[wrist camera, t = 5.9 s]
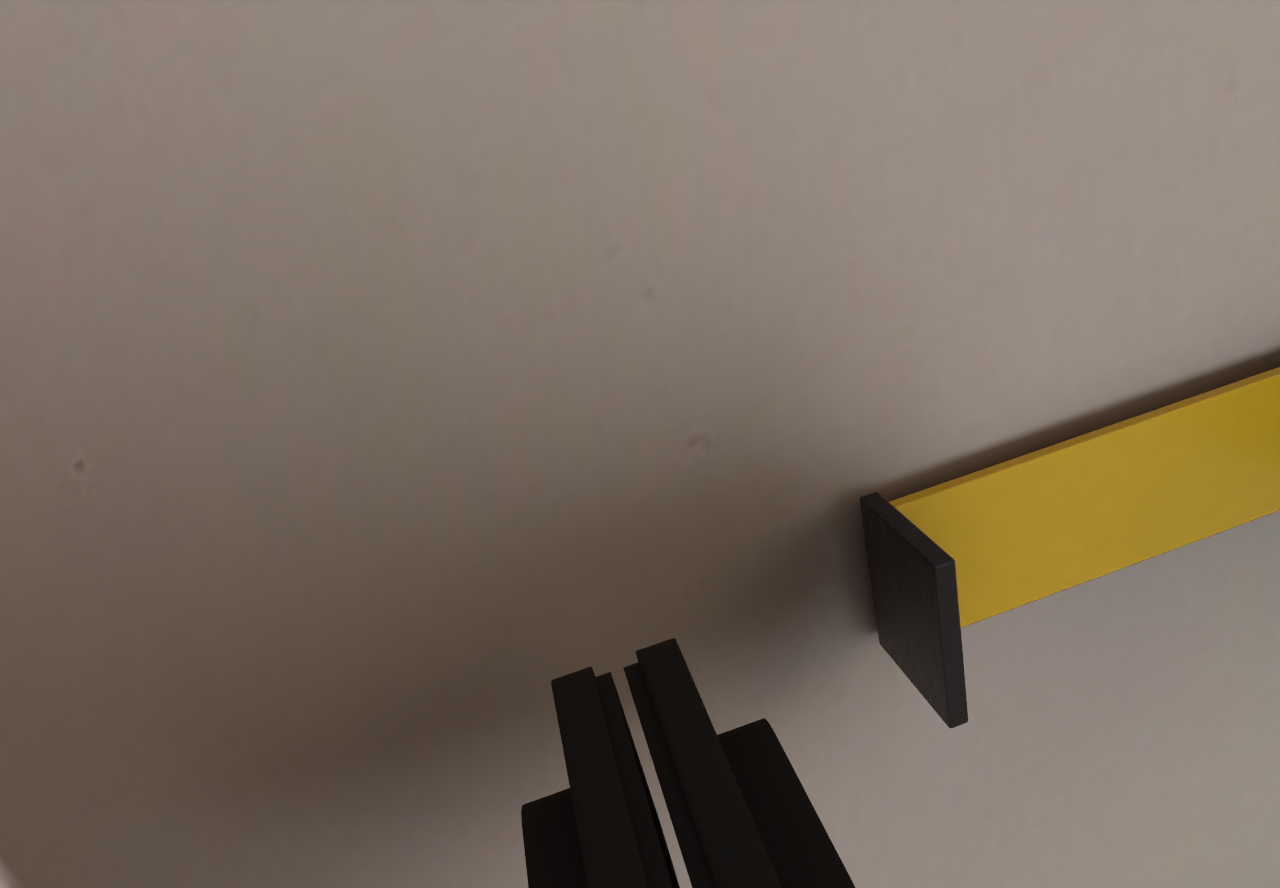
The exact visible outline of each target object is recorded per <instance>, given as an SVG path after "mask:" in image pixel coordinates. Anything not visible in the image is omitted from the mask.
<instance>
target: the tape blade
mask: <svg viewBox="0 0 1280 888" xmlns="http://www.w3.org/2000/svg"><path fill="white" fill-rule="evenodd" d="M860 504H861V511H862V519H863V526H864V533H865V540H866V547H867V555H868V562H869V569H870V576H871V584H872V591H873V598H874V605H875V613H876V620H877V627H878V634H879V642H880V645H881V646H882V647H883V648H884V649H885V651H886V652H887V653H888V654H889V655H890V657H891V658H892V659H893V660H894V661H895V663H896V664H897V665H898V666H899V668H900V669H901V670H902V671H903V672H904V674H905V675H906V676H907V677H908V678H909V680H910V681H911V682H912V683H913V684H914V686H915V687H916V688H917V689H918V691H919V692H920V693H921V694H922V695H923V697H924V698H925V699H926V700H927V701H928V703H929V704H930V705H931V706H932V707H933V709H934V710H935V711H936V712H937V714H938V715H939V716H940V717H941V718H942V720H943V721H944V722H945V723H946V724H947V726H948V727H949V728H954V727H956V726H959V725H962V724H964V723H967V722H968V714H967V701H966V689H965V677H964V665H963V652H962V640H961V628H962V627H965V626H967V625H970V624H973V623H975V622H978V621H981V620H984V619H986V618H989V617H992V616H994V615H997V614H1000V613H1003V612H1005V611H1008V610H1011V609H1013V608H1016V607H1019V606H1022V605H1024V604H1027V603H1030V602H1032V601H1035V600H1038V599H1041V598H1043V597H1046V596H1049V595H1051V594H1054V593H1057V592H1060V591H1062V590H1065V589H1068V588H1070V587H1073V586H1076V585H1079V584H1081V583H1084V582H1087V581H1089V580H1092V579H1095V578H1098V577H1100V576H1103V575H1106V574H1108V573H1111V572H1114V571H1117V570H1119V569H1122V568H1125V567H1127V566H1130V565H1133V564H1135V563H1138V562H1141V561H1144V560H1146V559H1149V558H1152V557H1154V556H1157V555H1160V554H1163V553H1165V552H1168V551H1171V550H1173V549H1176V548H1179V547H1182V546H1184V545H1187V544H1190V543H1192V542H1195V541H1198V540H1201V539H1203V538H1206V537H1209V536H1211V535H1214V534H1217V533H1220V532H1222V531H1225V530H1228V529H1230V528H1233V527H1236V526H1239V525H1241V524H1244V523H1247V522H1249V521H1252V520H1255V519H1258V518H1260V517H1263V516H1266V515H1268V514H1271V513H1274V512H1277V511H1279V510H1280V367H1277V368H1275V369H1272V370H1269V371H1266V372H1263V373H1260V374H1257V375H1254V376H1251V377H1249V378H1246V379H1243V380H1240V381H1237V382H1234V383H1231V384H1228V385H1225V386H1222V387H1220V388H1217V389H1214V390H1211V391H1208V392H1205V393H1202V394H1199V395H1196V396H1194V397H1191V398H1188V399H1185V400H1182V401H1179V402H1176V403H1173V404H1170V405H1167V406H1165V407H1162V408H1159V409H1156V410H1153V411H1150V412H1147V413H1144V414H1141V415H1139V416H1136V417H1133V418H1130V419H1127V420H1124V421H1121V422H1118V423H1115V424H1112V425H1110V426H1107V427H1104V428H1101V429H1098V430H1095V431H1092V432H1089V433H1086V434H1084V435H1081V436H1078V437H1075V438H1072V439H1069V440H1066V441H1063V442H1060V443H1057V444H1055V445H1052V446H1049V447H1046V448H1043V449H1040V450H1037V451H1034V452H1031V453H1029V454H1026V455H1023V456H1020V457H1017V458H1014V459H1011V460H1008V461H1005V462H1002V463H1000V464H997V465H994V466H991V467H988V468H985V469H982V470H979V471H976V472H974V473H971V474H968V475H965V476H962V477H959V478H956V479H953V480H950V481H947V482H945V483H942V484H939V485H936V486H933V487H930V488H927V489H924V490H921V491H918V492H916V493H913V494H910V495H907V496H904V497H901V498H898V499H895V500H892V501H890V502H888V501H887V500H886V499H885V498H883V497H882V496H881V495H880V494H879V493H877V492H875V493H872V494H869V495H866V496H863V497H861V498H860Z"/></svg>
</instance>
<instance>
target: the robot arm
mask: <svg viewBox="0 0 1280 888" xmlns="http://www.w3.org/2000/svg"><path fill="white" fill-rule="evenodd" d="M636 655H637V659H638V663H635V664H632V665H629V666H626V667H624V671H625V674H626V678H627V681H628V684H629V687H630V690H631V693H632V697H633V700H634V703H635V706H636V709H637V713H638V716H639V719H640V722H641V725H642V728H643V732H644V735H645V738H646V741H647V744H648V748H649V751H650V754H651V757H652V760H653V763H654V767H655V770H656V773H657V776H658V779H659V783H660V786H661V789H662V792H663V795H664V798H665V802H666V805H667V808H668V811H669V814H670V818H671V821H672V824H673V827H674V830H675V833H676V837H677V840H678V843H679V846H680V849H681V852H682V856H683V859H684V862H685V865H686V868H687V872H688V875H689V878H690V881H691V884H692V887H693V888H855V886H854V884H853V882H852V880H851V878H850V876H849V874H848V873H847V871H846V869H845V867H844V865H843V863H842V861H841V859H840V857H839V855H838V853H837V851H836V850H835V848H834V846H833V844H832V842H831V840H830V838H829V836H828V834H827V832H826V830H825V828H824V827H823V825H822V823H821V821H820V819H819V817H818V815H817V813H816V811H815V809H814V807H813V805H812V804H811V802H810V800H809V798H808V796H807V794H806V792H805V790H804V788H803V786H802V784H801V782H800V781H799V779H798V777H797V775H796V773H795V771H794V769H793V767H792V765H791V763H790V761H789V759H788V758H787V756H786V754H785V752H784V750H783V748H782V746H781V744H780V742H779V740H778V738H777V736H776V735H775V733H774V731H773V729H772V727H771V726H770V724H769V722H768V721H767V720H766V719H765V718H764V719H761V720H758V721H755V722H752V723H750V724H747V725H744V726H741V727H738V728H736V729H733V730H730V731H727V732H725V733H722V734H719V735H717V734H716V732H715V730H714V727H713V725H712V723H711V720H710V718H709V716H708V713H707V711H706V709H705V706H704V704H703V702H702V699H701V697H700V695H699V692H698V690H697V688H696V685H695V683H694V681H693V678H692V676H691V674H690V671H689V669H688V667H687V664H686V662H685V660H684V657H683V655H682V653H681V650H680V648H679V646H678V644H677V641H676V639H675V638H672V639H670V640H667V641H664V642H661V643H658V644H655V645H652V646H649V647H646V648H643V649H641V650H638V651H636ZM551 684H552V690H553V696H554V701H555V707H556V712H557V718H558V723H559V729H560V734H561V740H562V745H563V751H564V756H565V762H566V767H567V773H568V778H569V784H570V788H569V789H566V790H563V791H560V792H557V793H555V794H552V795H549V796H546V797H544V798H541V799H538V800H535V801H532V802H530V803H527V804H524V805H522V810H521V816H522V829H523V838H524V848H525V857H526V867H527V876H528V886H529V888H680V887H679V884H678V881H677V877H676V874H675V871H674V867H673V864H672V861H671V857H670V854H669V850H668V847H667V844H666V840H665V837H664V834H663V831H662V827H661V824H660V821H659V818H658V815H657V812H656V809H655V806H654V802H653V799H652V796H651V793H650V790H649V787H648V784H647V781H646V778H645V775H644V772H643V769H642V766H641V763H640V760H639V757H638V754H637V751H636V748H635V745H634V742H633V738H632V735H631V732H630V729H629V726H628V723H627V720H626V717H625V714H624V711H623V708H622V705H621V702H620V699H619V696H618V693H617V690H616V687H615V684H614V681H613V678H612V675H611V672H609V673H606V674H603V675H600V676H597V677H595V674H594V671H593V669H592V667H588V668H585V669H582V670H580V671H577V672H574V673H571V674H568V675H565V676H562V677H559V678H556V679H553V680H552V681H551Z"/></svg>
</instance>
